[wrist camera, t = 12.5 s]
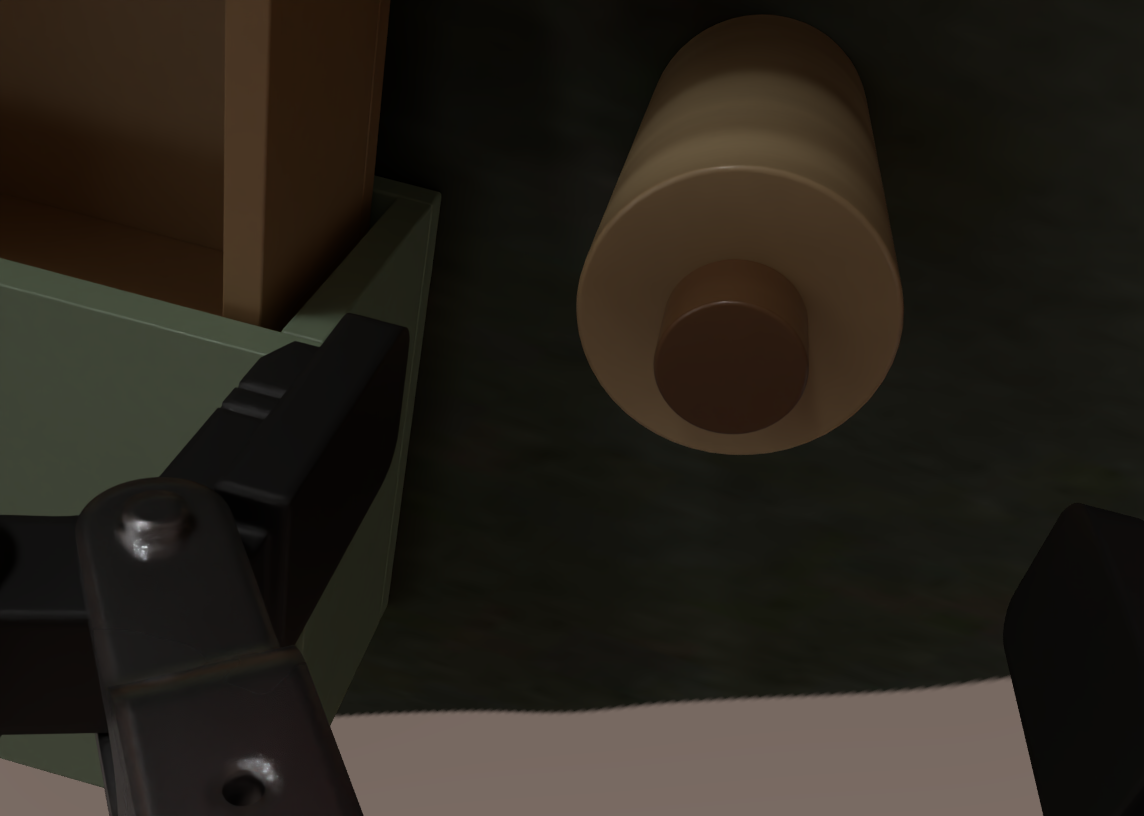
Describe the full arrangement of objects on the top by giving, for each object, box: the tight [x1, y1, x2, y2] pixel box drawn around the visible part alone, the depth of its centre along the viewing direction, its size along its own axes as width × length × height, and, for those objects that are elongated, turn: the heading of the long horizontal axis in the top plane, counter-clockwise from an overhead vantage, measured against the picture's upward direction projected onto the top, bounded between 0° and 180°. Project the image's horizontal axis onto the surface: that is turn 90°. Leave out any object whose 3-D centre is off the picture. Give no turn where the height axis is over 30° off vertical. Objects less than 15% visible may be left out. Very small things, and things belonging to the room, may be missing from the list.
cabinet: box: [0, 175, 441, 788], centre depth 28 cm, size 15×15×9 cm
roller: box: [576, 14, 904, 455], centre depth 20 cm, size 5×5×12 cm
